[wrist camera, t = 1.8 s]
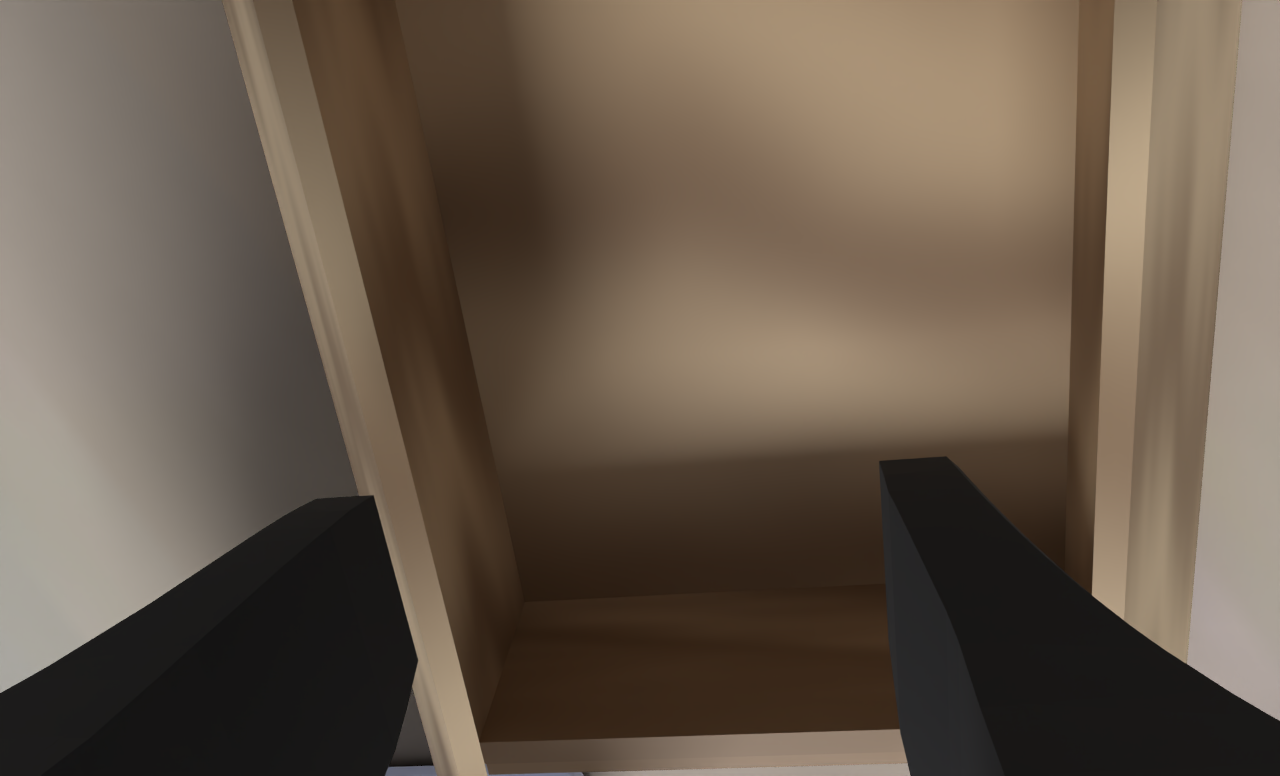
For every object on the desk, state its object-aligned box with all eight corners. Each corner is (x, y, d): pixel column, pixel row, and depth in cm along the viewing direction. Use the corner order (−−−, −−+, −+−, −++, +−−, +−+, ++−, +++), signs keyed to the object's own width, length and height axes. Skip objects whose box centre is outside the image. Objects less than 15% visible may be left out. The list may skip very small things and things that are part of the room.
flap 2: (1179, 751, 18) (1106, 942, 15) (1155, 743, 18) (1079, 930, 15) (1274, -387, 11) (1180, -427, 9) (1235, -377, 12) (1131, -414, 9)
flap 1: (455, 764, 20) (527, 933, 16) (435, 772, 20) (504, 945, 16) (198, -201, 13) (229, -254, 10) (167, -197, 13) (186, -250, 10)
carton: (1085, 599, 23) (1155, 760, 19) (511, 627, 24) (461, 779, 20) (1120, -385, 16) (1243, -469, 12) (317, -245, 18) (181, -277, 13)
